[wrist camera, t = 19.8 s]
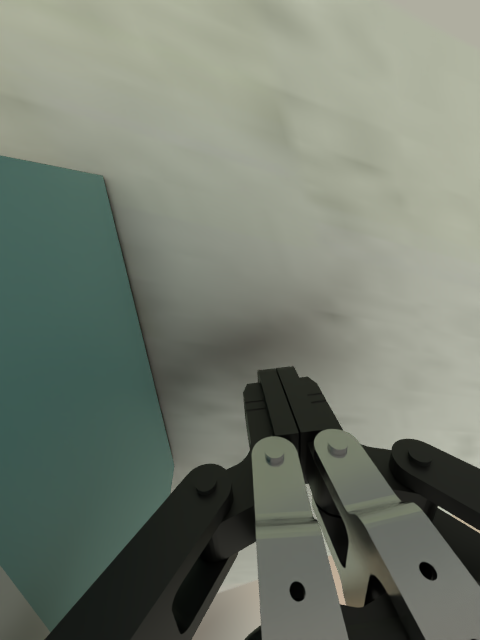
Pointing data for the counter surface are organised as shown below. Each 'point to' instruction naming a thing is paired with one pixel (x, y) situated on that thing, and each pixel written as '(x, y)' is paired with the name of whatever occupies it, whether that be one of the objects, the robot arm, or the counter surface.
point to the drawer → (68, 397)
